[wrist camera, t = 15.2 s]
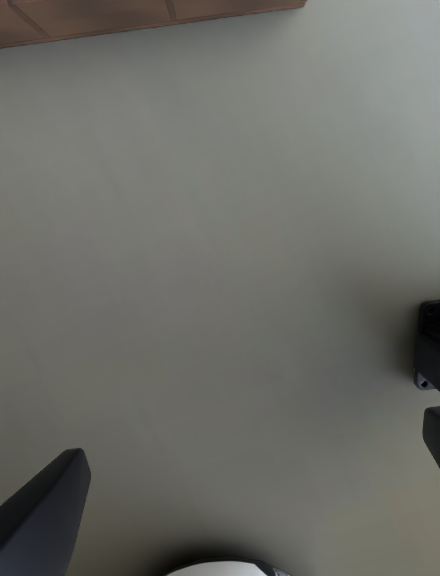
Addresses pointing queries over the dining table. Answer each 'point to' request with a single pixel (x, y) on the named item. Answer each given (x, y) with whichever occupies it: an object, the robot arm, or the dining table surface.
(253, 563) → the milk container
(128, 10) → the caddy
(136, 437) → the dining table surface
